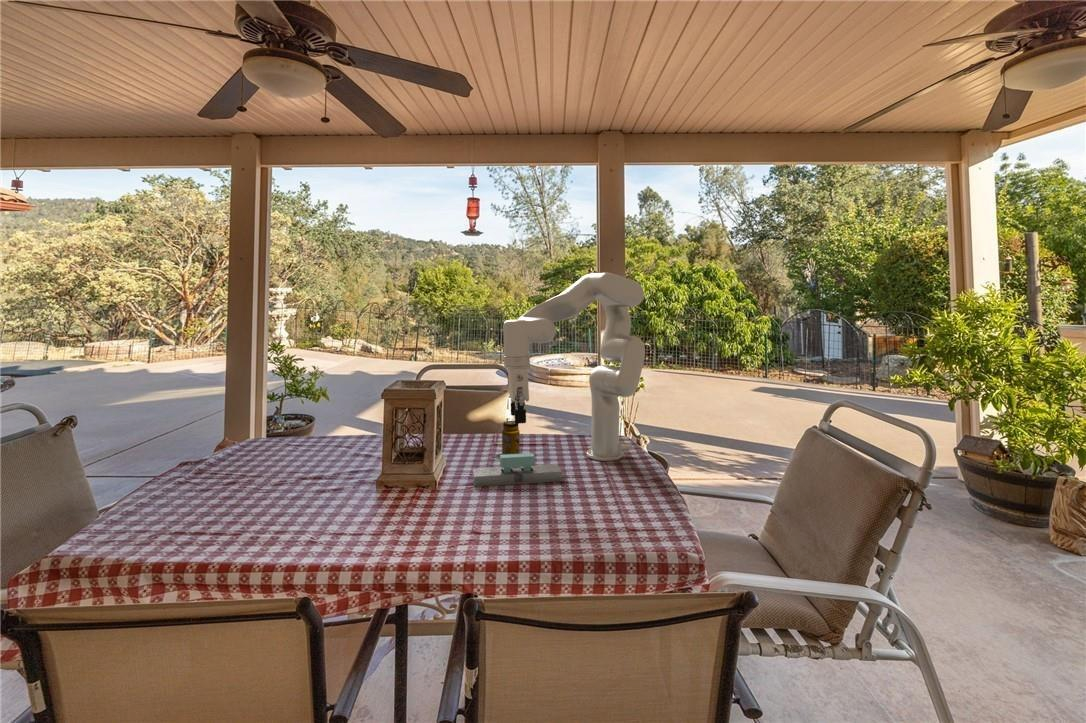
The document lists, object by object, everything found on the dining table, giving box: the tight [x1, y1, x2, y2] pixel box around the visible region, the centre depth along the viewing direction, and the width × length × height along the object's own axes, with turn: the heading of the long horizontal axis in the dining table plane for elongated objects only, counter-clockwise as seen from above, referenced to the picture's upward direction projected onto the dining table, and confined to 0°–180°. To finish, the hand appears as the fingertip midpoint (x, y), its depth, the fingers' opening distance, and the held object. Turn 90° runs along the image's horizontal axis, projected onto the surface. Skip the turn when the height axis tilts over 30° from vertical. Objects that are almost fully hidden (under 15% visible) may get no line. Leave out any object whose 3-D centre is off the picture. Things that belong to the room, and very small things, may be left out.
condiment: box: [493, 420, 521, 460], centre depth 171 cm, size 7×8×12 cm
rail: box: [472, 463, 563, 488], centre depth 149 cm, size 26×7×3 cm, turn 100°
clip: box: [499, 452, 535, 473], centre depth 148 cm, size 10×3×7 cm, turn 100°
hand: (518, 419), depth 147 cm, fingers open, 9 cm apart
